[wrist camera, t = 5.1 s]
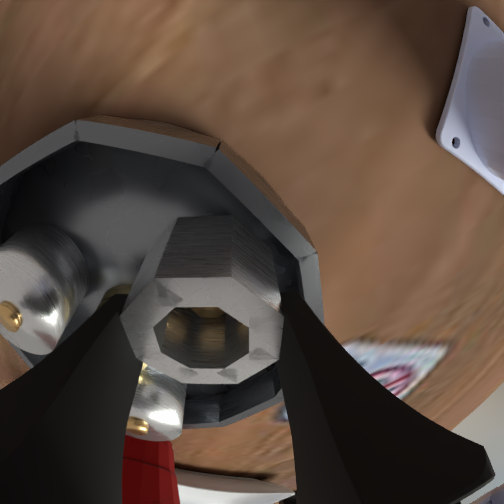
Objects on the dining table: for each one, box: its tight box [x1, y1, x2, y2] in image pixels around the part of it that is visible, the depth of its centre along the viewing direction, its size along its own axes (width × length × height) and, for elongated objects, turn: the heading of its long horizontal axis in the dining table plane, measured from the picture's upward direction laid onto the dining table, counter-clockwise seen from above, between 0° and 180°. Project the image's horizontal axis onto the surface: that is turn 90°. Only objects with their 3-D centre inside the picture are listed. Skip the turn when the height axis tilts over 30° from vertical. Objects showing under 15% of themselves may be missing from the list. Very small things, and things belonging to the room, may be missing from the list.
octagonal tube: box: [120, 215, 284, 384], centre depth 9 cm, size 4×4×3 cm
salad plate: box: [175, 468, 295, 504], centre depth 29 cm, size 21×21×3 cm
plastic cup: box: [122, 435, 180, 504], centre depth 16 cm, size 11×11×12 cm
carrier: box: [0, 115, 324, 441], centre depth 11 cm, size 16×16×5 cm
